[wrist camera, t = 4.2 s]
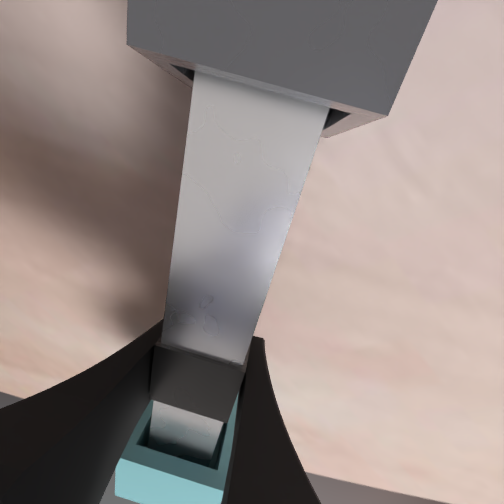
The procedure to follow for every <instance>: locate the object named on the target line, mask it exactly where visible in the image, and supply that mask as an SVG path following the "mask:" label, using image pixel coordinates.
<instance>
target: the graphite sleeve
mask: <svg viewBox="0 0 504 504" xmlns="http://www.w3.org/2000/svg"><path fill="white" fill-rule="evenodd" d="M437 1H438V0H128V10H127V45H128V46H130V47H131V48H133V49H134V50H136V51H137V52H139V53H140V54H142V55H143V56H145V57H146V58H148V59H149V60H151V61H152V62H154V63H155V64H157V65H158V66H160V67H161V68H163V69H164V70H166V71H167V72H169V73H170V74H171V75H173V76H174V77H176V78H177V79H179V80H180V81H182V82H183V83H185V84H186V85H188V86H189V87H191V88H192V89H193V83H194V75H195V71H199V72H202V73H206V74H209V75H213V76H217V77H220V78H224V79H228V80H231V81H235V82H239V83H242V84H246V85H249V86H253V87H257V88H260V89H264V90H268V91H271V92H275V93H279V94H282V95H286V96H289V97H293V98H297V99H300V100H304V101H308V102H311V103H315V104H319V105H322V106H326V107H329V108H330V109H329V112H328V114H327V117H326V120H325V123H324V126H323V129H322V132H321V135H320V136H321V137H325V138H328V137H331V136H334V135H337V134H339V133H342V132H345V131H348V130H351V129H353V128H356V127H359V126H362V125H364V124H367V123H370V122H373V121H375V120H378V119H381V118H384V117H386V116H388V114H389V112H390V110H391V107H392V105H393V103H394V100H395V98H396V96H397V93H398V91H399V89H400V86H401V84H402V82H403V80H404V77H405V75H406V73H407V70H408V68H409V66H410V63H411V61H412V59H413V56H414V54H415V52H416V49H417V47H418V45H419V42H420V40H421V38H422V36H423V33H424V31H425V29H426V26H427V24H428V22H429V19H430V17H431V15H432V12H433V10H434V8H435V5H436V3H437Z"/></svg>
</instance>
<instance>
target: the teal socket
mask: <svg viewBox="0 0 504 504" xmlns="http://www.w3.org/2000/svg"><path fill="white" fill-rule="evenodd" d="M238 393H239V392H238ZM153 402H154V400H151V401H150V402H149V404H148V406H147V408H146V409H145V411H144V413H143V414H142V416H141V418H140V420H139V421H138V423H137V425H136V427H135V429H134V431H133V433H132V435H131V437H130V439H129V441H128V443H127V445H126V447H125V449H124V451H123V453H122V455H121V458H120V460H119V462H118V464H117V466H116V478H115V479H116V480H115V495H116V496H119V497H122V498H126V499H128V500H132V501H134V502H138V503H141V504H220V503H221V501H222V497H223V492H224V486H225V481H226V476H227V471H228V466H229V461H230V455H231V450H232V443H233V435H234V427H235V418H236V410H237V402H238V395H237V398H236V400H235V403H234V406H233V409H232V412H231V415H230V418H229V420H228V423H224V422H223V425H222V428H221V431H220V434H219V437H218V440H217V443H216V446H215V449H214V452H213V455H212V458H211V461H210V464H209V466H208V467H205V466H202V465H199V464H196V463H193V462H190V461H187V460H183V459H180V458H177V457H174V456H171V455H168V454H165V453H162V452H158V451H155V450H152V449H149V448H148V442H149V434H150V426H151V418H152V410H153Z"/></svg>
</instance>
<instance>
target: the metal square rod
mask: <svg viewBox="0 0 504 504" xmlns="http://www.w3.org/2000/svg"><path fill="white" fill-rule="evenodd" d="M329 109H330V108H329V107H326V106H322V105H319V104H315V103H311V102H308V101H304V100H300V99H297V98H293V97H289V96H286V95H282V94H279V93H275V92H271V91H268V90H264V89H260V88H257V87H253V86H249V85H246V84H242V83H239V82H235V81H231V80H228V79H224V78H220V77H217V76H213V75H209V74H206V73H202V72H199V71H195V75H194V83H193V91H192V99H191V107H190V115H189V123H188V131H187V139H186V147H185V155H184V163H183V171H182V179H181V187H180V194H179V202H178V210H177V218H176V226H175V234H174V242H173V250H172V258H171V266H170V274H169V282H168V290H167V298H166V306H165V314H164V322H163V330H162V335H161V337H160V338H159V340H158V341H157V342H156V344H155V347H154V356H153V365H152V374H151V383H150V392H149V399H151V400H154V402H153V410H152V418H151V426H150V434H149V442H148V448H149V449H152V450H155V451H158V452H162V453H165V454H168V455H171V456H174V457H177V458H180V459H183V460H187V461H190V462H193V463H196V464H199V465H202V466H205V467H208V466H209V464H210V461H211V458H212V455H213V452H214V449H215V446H216V443H217V440H218V437H219V434H220V431H221V428H222V425H223V422H224V423H228V420H229V418H230V415H231V412H232V409H233V406H234V403H235V400H236V398H237V395H238V392H239V389H240V386H241V383H242V381H243V378H244V375H245V371H246V366H247V361H248V356H249V350H250V345H251V340H252V336H253V333H254V330H255V327H256V325H257V322H258V319H259V316H260V313H261V310H262V307H263V304H264V301H265V298H266V295H267V292H268V289H269V286H270V283H271V280H272V277H273V274H274V271H275V268H276V265H277V262H278V259H279V256H280V254H281V251H282V248H283V245H284V242H285V239H286V236H287V233H288V230H289V227H290V224H291V221H292V218H293V215H294V212H295V209H296V206H297V203H298V200H299V197H300V194H301V191H302V188H303V185H304V183H305V180H306V177H307V174H308V171H309V168H310V165H311V162H312V159H313V156H314V153H315V150H316V147H317V144H318V141H319V138H320V135H321V132H322V129H323V126H324V123H325V120H326V117H327V114H328V112H329Z"/></svg>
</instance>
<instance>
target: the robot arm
mask: <svg viewBox="0 0 504 504" xmlns="http://www.w3.org/2000/svg"><path fill="white" fill-rule="evenodd" d="M163 322H164V319H163V320H161V321H160V322H159V323H157V324H156V325H155V326H153V327H152V328H151V329H149V330H148V331H146V332H145V333H144V334H142V335H141V336H139V337H138V338H137V339H135V340H134V341H132V342H131V343H129V344H128V345H126V346H125V347H123V348H122V349H120V350H119V351H117V352H116V353H114V354H113V355H111V356H109V357H108V358H106V359H104V360H103V361H101V362H99V363H98V364H96V365H94V366H92V367H91V368H89V369H87V370H85V371H83V372H81V373H80V374H78V375H76V376H74V377H72V378H70V379H68V380H66V381H64V382H61V383H59V384H57V385H55V386H53V387H51V388H49V389H47V390H45V391H42V392H40V393H38V394H35V395H33V396H31V397H28V398H26V399H24V400H21V401H19V402H16V403H14V404H12V405H9V406H6V407H4V408H1V409H0V504H99V503H100V501H101V498H102V496H103V494H104V492H105V489H106V487H107V485H108V483H109V481H110V479H111V476H112V474H113V472H114V470H115V468H116V466H117V464H118V462H119V460H120V458H121V455H122V453H123V451H124V449H125V447H126V445H127V443H128V441H129V439H130V437H131V435H132V433H133V431H134V429H135V427H136V425H137V423H138V421H139V420H140V418H141V416H142V414H143V413H144V411H145V409H146V408H147V406H148V404H149V402H150V401H151V399H149V392H150V383H151V374H152V365H153V356H154V347H155V344H156V342H157V341H158V340H159V338H160V337H161V335H162V330H163ZM264 342H265V341H264V339H263V338H260V337H255V336H252V340H251V345H250V350H249V356H248V361H247V366H246V371H245V375H244V378H243V381H242V383H241V386H240V389H239V393H238V402H237V410H236V418H235V427H234V435H233V443H232V450H231V455H230V461H229V466H228V471H227V476H226V481H225V486H224V492H223V497H222V502H221V504H321V502H320V500H319V499H318V497H317V495H316V493H315V491H314V489H313V487H312V485H311V483H310V481H309V479H308V477H307V475H306V473H305V471H304V469H303V467H302V464H301V462H300V460H299V458H298V455H297V453H296V451H295V449H294V447H293V444H292V442H291V440H290V437H289V435H288V432H287V430H286V427H285V425H284V422H283V419H282V416H281V414H280V411H279V408H278V404H277V401H276V398H275V395H274V391H273V388H272V384H271V380H270V375H269V371H268V366H267V361H266V355H265V344H264Z"/></svg>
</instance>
